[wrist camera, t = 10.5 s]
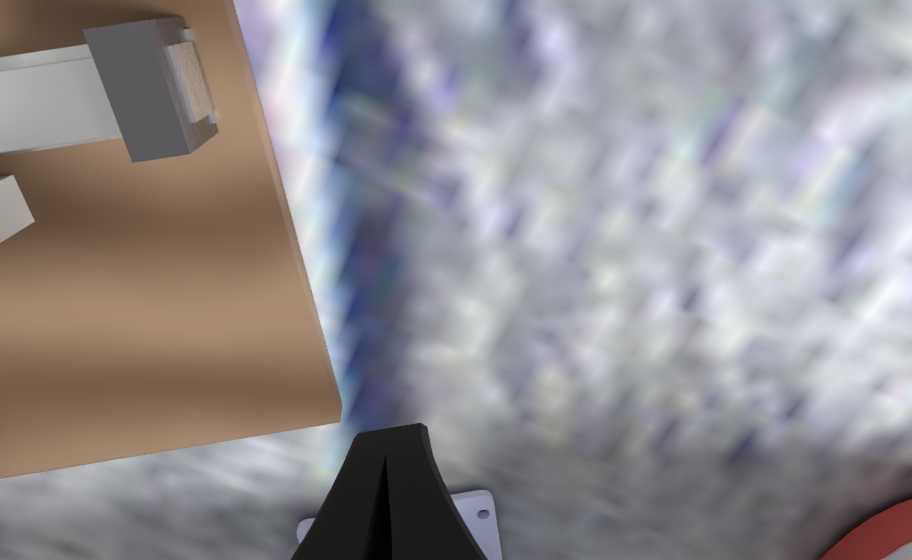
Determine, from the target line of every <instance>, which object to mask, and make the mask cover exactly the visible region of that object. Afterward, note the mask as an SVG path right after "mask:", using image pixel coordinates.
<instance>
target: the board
mask: <svg viewBox="0 0 912 560" xmlns="http://www.w3.org/2000/svg"><path fill="white" fill-rule="evenodd" d="M182 16H184V20H185V23H186V26H187V29H189V28H191V29H192V33H193V36H194V39H195V43H196V46H197V49H198V52H199V56H200V59H201V62H202V66H203V69H204V72H205V75H206V79H207V82H208V85H209V89H210V92H211V95H212V99H213V102H214V105H215V108H216V112H217V115H218V118H219V121H218V122H217V123H216V124H217V127H218V131H219V132H218V133H217V134H216V135H215V136H213V137H212V138H211V139H209V140H208V141H207V142H205V143H204V144H203V145H201V146H200V147H199V148H198V149H196V150H195V151H194V152H192V153H191V154H187V155H181V156H175V157H168V158H162V159H156V160H149V161H143V162H136V163H132V161H131V158H130V155H129V153H128V150H127V148H126V145H125V142H124V140H123V137H122V138H116V139H110V140H103V141H97V142H90V143H84V144H77V145H71V146H65V147H58V148H52V149H45V150H39V151H33V152H26V153H20V154H13V155H7V156H1V157H0V177H2V176H8V175H13V176H14V178H15V180H16V182H17V184H18V186H19V189H20V191H21V193H22V195H23V197H24V199H25V201H26V204H27V206H28V208H29V210H30V212H31V214H32V216H33V219H34V221H35V222H33V223H31V224H30V225H28V226H27V227H25V228H23V229H22V230H20V231H19V232H17V233H15V234H14V235H12V236H11V237H9V238H7V239H6V240H4V241H3V242H1V243H0V479H1V478H7V477H13V476H19V475H25V474H31V473H37V472H43V471H49V470H55V469H61V468H67V467H73V466H79V465H85V464H91V463H97V462H103V461H109V460H115V459H121V458H127V457H133V456H139V455H145V454H151V453H158V452H164V451H170V450H176V449H182V448H188V447H194V446H200V445H206V444H212V443H218V442H224V441H230V440H236V439H242V438H248V437H254V436H260V435H266V434H272V433H278V432H284V431H290V430H296V429H302V428H308V427H314V426H320V425H326V424H332V423H338V422H340V419H341V411H342V402H341V398H340V394H339V391H338V387H337V383H336V380H335V376H334V372H333V369H332V365H331V361H330V357H329V354H328V350H327V346H326V343H325V339H324V335H323V332H322V328H321V324H320V320H319V317H318V313H317V309H316V306H315V302H314V298H313V295H312V291H311V287H310V284H309V280H308V276H307V272H306V269H305V265H304V261H303V258H302V254H301V250H300V247H299V243H298V239H297V236H296V232H295V228H294V224H293V221H292V217H291V213H290V210H289V206H288V202H287V199H286V195H285V191H284V188H283V184H282V180H281V176H280V173H279V169H278V165H277V162H276V158H275V154H274V151H273V147H272V143H271V140H270V136H269V132H268V128H267V125H266V121H265V117H264V114H263V110H262V106H261V103H260V99H259V95H258V92H257V88H256V84H255V80H254V77H253V73H252V69H251V66H250V62H249V58H248V55H247V51H246V47H245V44H244V40H243V36H242V32H241V29H240V25H239V21H238V18H237V14H236V10H235V7H234V3H233V0H0V57H6V56H13V55H19V54H26V53H32V52H39V51H46V50H52V49H59V48H65V47H72V46H78V45H85V44H87V41H86V39H85V36H84V33H83V31H82V30H84V29H91V28H97V27H104V26H110V25H117V24H124V23H130V22H137V21H143V20H152V19H162V18H172V17H182Z"/></svg>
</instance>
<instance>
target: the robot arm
mask: <svg viewBox="0 0 912 560" xmlns="http://www.w3.org/2000/svg"><path fill="white" fill-rule="evenodd" d="M480 510H486V511H484V512H479V511H480ZM297 538H298V541H299V544H300V545H299V547H298V548H297V550H296V552H295V553H294V555H293V557H292V558H291V560H502V553H501V546H500V540H499V533H498V526H497V520H496V513H495V506H494V500H493V496H492V494H491V493H490V492H489V491H486V490H476V491H470V492H464V493H458V494H452V495H450V494H449V492H448V490H447V488H446V486H445V484H444V482H443V480H442V477H441V475H440V473H439V470H438V468H437V465H436V462H435V460H434V457H433V454H432V449H431V444H430V438H429V433H428V428H427V426H425V425H423V424H422V423H417V424H411V425H405V426H399V427H393V428H387V429H381V430H375V431H369V432H363V433H358V434H357V436H356V437H355V438H354V440H353V442H352V444H351V447H350V449H349V452H348V454H347V456H346V458H345V461H344V463H343V465H342V467H341V469H340V471H339V473H338V476H337V478H336V480H335V482H334V484H333V486H332V488H331V490H330V492H329V494H328V495H327V497H326V499H325V501H324V503H323V505H322V507H321V509H320V511H319V512H318V514H317V516H316V518H310V519H306V520H303V521H301V522H300V523H299V525H298V527H297Z"/></svg>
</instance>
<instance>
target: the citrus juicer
mask: <svg viewBox="0 0 912 560" xmlns="http://www.w3.org/2000/svg"><path fill="white" fill-rule="evenodd" d="M819 560H912V499H910V500H907V501H905V502H902V503H899V504H897V505H895V506H893V507H891V508H889V509H887V510H885V511H883V512H881V513H879V514H877V515H875V516H873V517H871V518H870V519H868V520H867V521H865V522H864V523H862V524H861V525H859V526H858V527H856V528H855V529H853V530H852V531H851V532H849V533H848V534H847V535H846V536H845V537H844V538H843V539H841V540H840V541H839V542H838V543H837V544H836V545H835V546H833V547H832V548H831V549H830V550H828V551H827V552H826V553H824V554H823V555H822V556H821V558H820V559H819Z"/></svg>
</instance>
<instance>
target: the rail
mask: <svg viewBox="0 0 912 560" xmlns="http://www.w3.org/2000/svg"><path fill="white" fill-rule="evenodd" d="M82 31H83V33H84V36H85V39H86V41H87V44H85V45H78V46H72V47H65V48H59V49H52V50H46V51H39V52H32V53H26V54H19V55H13V56H6V57H0V157H1V156H7V155H13V154H20V153H26V152H33V151H39V150H45V149H52V148H58V147H65V146H71V145H77V144H84V143H90V142H97V141H103V140H110V139H116V138H122V137H123V140H124V142H125V145H126V148H127V150H128V153H129V155H130V158H131V161H132V163H136V162H143V161H149V160H156V159H162V158H168V157H175V156H181V155H187V154H191V153H192V152H194V151H195V150H196V149H198V148H199V147H200V146H201V145H203V144H204V143H205V142H207V141H208V140H209V139H211V138H212V137H213V136H215V135H216V134H217V133H218V132H219V131H218V127H217V124H216V123H217V122H218V121H219V118H218V115H217V112H216V108H215V105H214V102H213V99H212V95H211V92H210V89H209V85H208V82H207V79H206V75H205V72H204V69H203V66H202V62H201V59H200V56H199V52H198V49H197V46H196V43H195V39H194V36H193V33H192V29H191V28H189V29H187V26H186V23H185V20H184V16H182V17H172V18H162V19H152V20H143V21H137V22H130V23H124V24H117V25H110V26H104V27H97V28H91V29H84V30H82Z"/></svg>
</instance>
